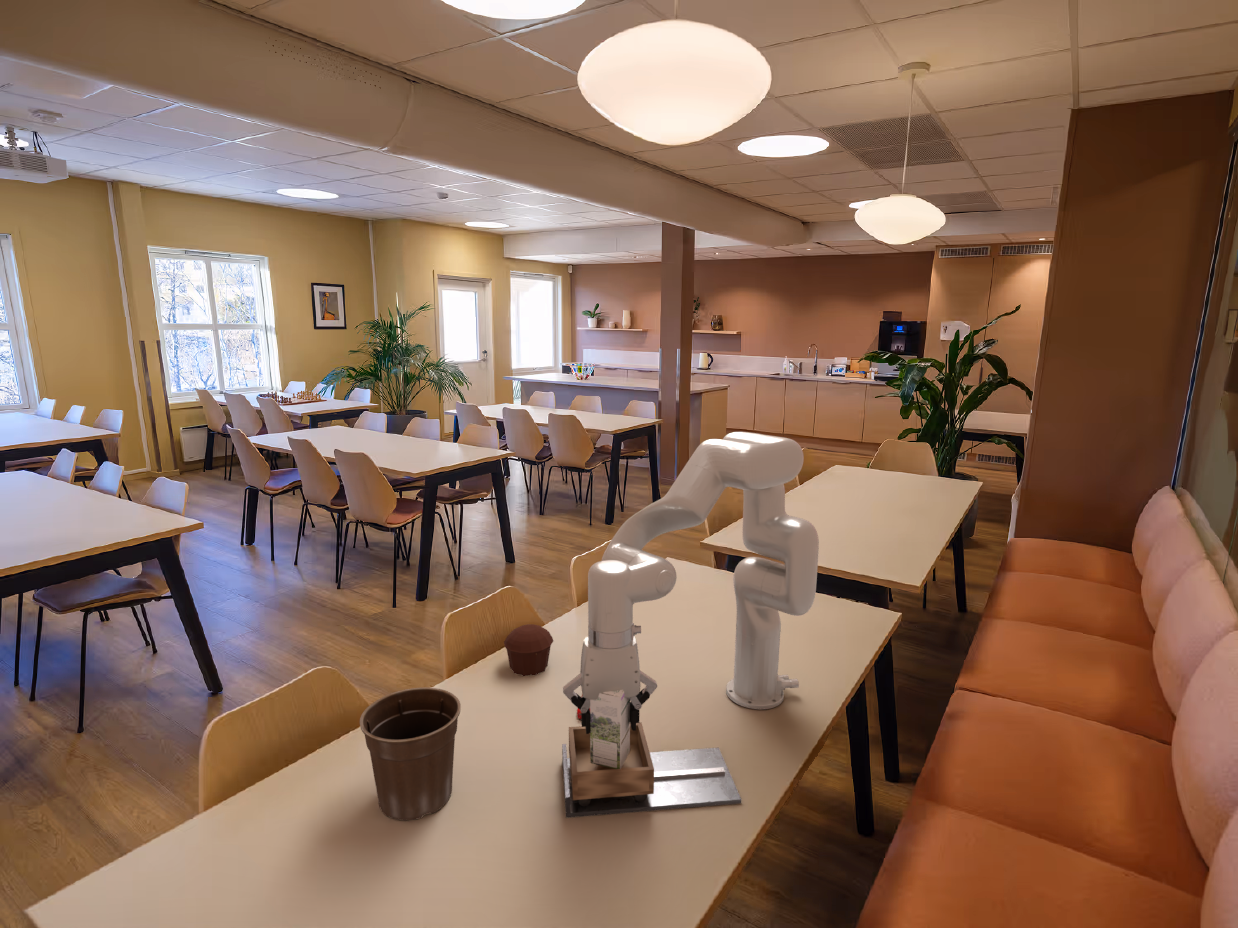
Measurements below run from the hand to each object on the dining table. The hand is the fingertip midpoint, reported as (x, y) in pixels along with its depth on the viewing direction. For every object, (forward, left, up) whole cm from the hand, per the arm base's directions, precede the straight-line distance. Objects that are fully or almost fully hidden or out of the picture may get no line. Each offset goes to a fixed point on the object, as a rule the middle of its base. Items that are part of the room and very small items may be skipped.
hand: (610, 726), depth 115 cm
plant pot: (+34, -1, -12) cm, 36 cm away
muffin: (+15, -44, -12) cm, 48 cm away
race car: (+1, -26, -12) cm, 28 cm away
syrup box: (0, 0, -6) cm, 6 cm away
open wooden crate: (0, 0, -11) cm, 11 cm away
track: (-7, 0, -11) cm, 13 cm away
